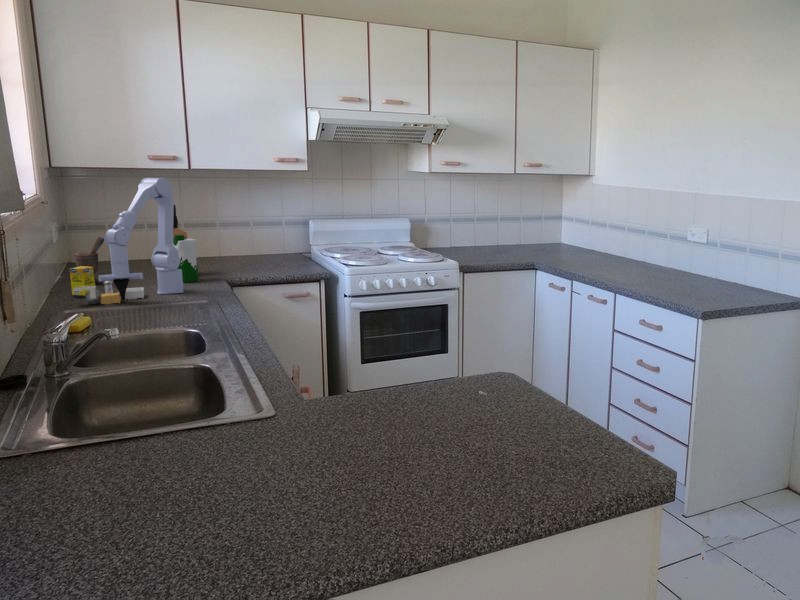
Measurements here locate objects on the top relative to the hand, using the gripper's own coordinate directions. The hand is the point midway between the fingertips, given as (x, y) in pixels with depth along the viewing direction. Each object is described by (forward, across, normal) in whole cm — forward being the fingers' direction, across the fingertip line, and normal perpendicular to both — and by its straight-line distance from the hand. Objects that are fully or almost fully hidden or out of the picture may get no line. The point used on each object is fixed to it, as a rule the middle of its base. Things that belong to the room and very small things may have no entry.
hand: (123, 299), depth 222 cm
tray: (+1, +2, +8) cm, 8 cm away
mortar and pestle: (+1, -14, +44) cm, 46 cm away
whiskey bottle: (+1, +20, +51) cm, 55 cm away
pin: (+1, -5, +8) cm, 9 cm away
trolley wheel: (+1, -11, 0) cm, 11 cm away
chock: (+1, -4, 0) cm, 4 cm away
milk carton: (+1, +24, +36) cm, 43 cm away
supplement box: (+1, -14, +18) cm, 23 cm away
